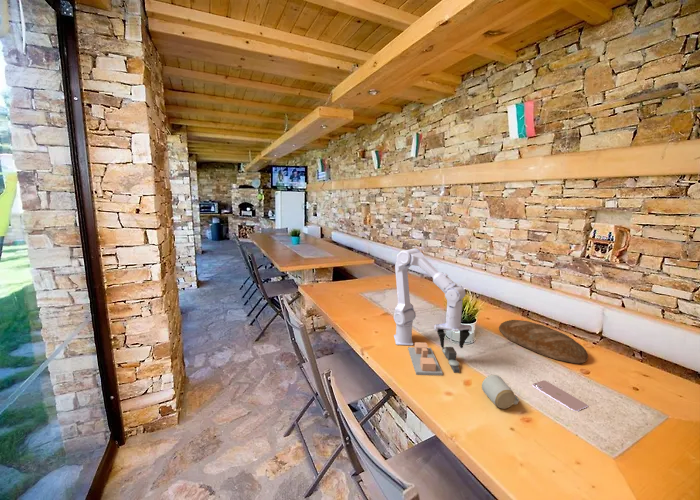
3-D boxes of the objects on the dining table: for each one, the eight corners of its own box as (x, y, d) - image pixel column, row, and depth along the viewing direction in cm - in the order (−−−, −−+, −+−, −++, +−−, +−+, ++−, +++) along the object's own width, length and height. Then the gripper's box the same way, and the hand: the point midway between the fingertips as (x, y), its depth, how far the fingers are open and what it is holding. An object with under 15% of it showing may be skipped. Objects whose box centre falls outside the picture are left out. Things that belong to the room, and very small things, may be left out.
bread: (514, 325, 159) (516, 310, 157) (597, 357, 127) (600, 339, 126) (488, 333, 148) (489, 317, 147) (571, 371, 116) (574, 351, 115)
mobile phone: (575, 411, 93) (530, 383, 107) (575, 413, 94) (530, 386, 107) (589, 404, 96) (544, 379, 110) (589, 407, 96) (544, 381, 110)
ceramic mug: (494, 411, 94) (497, 389, 92) (480, 394, 101) (482, 374, 100) (524, 409, 95) (528, 387, 94) (508, 392, 103) (510, 372, 102)
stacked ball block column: (439, 350, 131) (440, 339, 130) (448, 350, 131) (449, 340, 130) (451, 372, 114) (452, 360, 113) (461, 373, 114) (463, 361, 113)
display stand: (408, 349, 131) (408, 338, 130) (430, 350, 131) (431, 338, 130) (416, 374, 113) (416, 361, 112) (442, 375, 112) (443, 362, 111)
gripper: (438, 319, 115) (436, 351, 118) (475, 319, 115) (472, 352, 117) (433, 312, 122) (431, 342, 124) (469, 312, 122) (466, 343, 124)
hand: (451, 346), depth 121 cm, fingers open, 7 cm apart
